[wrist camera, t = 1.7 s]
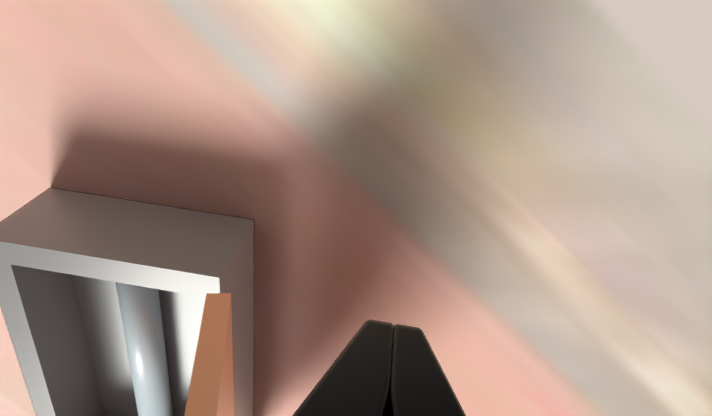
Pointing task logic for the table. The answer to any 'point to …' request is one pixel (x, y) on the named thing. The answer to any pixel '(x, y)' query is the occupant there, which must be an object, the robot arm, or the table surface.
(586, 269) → the table surface
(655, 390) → the table surface
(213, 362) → the duct cover
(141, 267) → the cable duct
